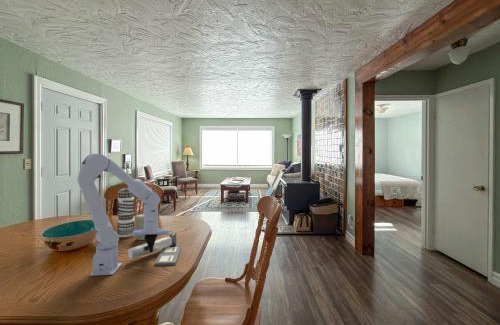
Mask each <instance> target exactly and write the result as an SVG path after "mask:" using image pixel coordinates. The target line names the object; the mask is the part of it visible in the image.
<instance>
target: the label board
mask: <svg viewBox="0 0 500 325" xmlns="http://www.w3.org/2000/svg"><path fill="white" fill-rule="evenodd" d="M160 250H161V251H160V252H159V254H158V256H157V257H156V260H155V262H154V264H153V265H154V267H158V266H176V265H177V261H178V258H179V256H180V252H181V250H182V246H179V247H165V248H162V249H160Z"/></svg>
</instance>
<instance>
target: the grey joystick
mask: <svg viewBox="0 0 500 325" xmlns="http://www.w3.org/2000/svg"><path fill="white" fill-rule="evenodd" d="M169 237H171V238H172V245H170V246H168V247H180V242H179V243H177V233H169Z"/></svg>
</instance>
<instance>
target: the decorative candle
mask: <svg viewBox="0 0 500 325" xmlns="http://www.w3.org/2000/svg"><path fill="white" fill-rule="evenodd" d="M117 195H118V197H117V201H116V207H117V209H116V210H117V211H116V214H117V216H118V217H117V224H116V225H117V226H116V227H117V229H116V230H117V231H116V232H117V233H118V235H119V238H128V237H131V236H132V232H133V231H134V230H136V221H135V217H134V214H135V210H134V209H136V207H135V206H136V204H135V202H136V199H135V197H134V196H135V195H134V194H133V193H132V192H130V191H129V190H128V187H124V188H120V189H119V190H118V191H117ZM132 237H133V236H132Z"/></svg>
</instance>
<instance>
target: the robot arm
mask: <svg viewBox="0 0 500 325" xmlns="http://www.w3.org/2000/svg"><path fill="white" fill-rule="evenodd" d="M102 172H106V173H111V175H113V176H115V177H116V178H118V179H119V180H120V181H121V182H123V183H124V184H125V185H126V186H127V188H128V190H129V191H130V192H132V193H133V196H135V197H137V198H138V199H139V200H140V201H141V202H142V203H143V215H144V229H143V230H136V229H134V231H133V232H132V237H136V236H139V235H145V238H144V239H145V240H144V241H145V242H146V243H147V244H148V246H149V250H150V253H149V254H152V253H153V247H154V243H155V240H157V238H158V236H159V235H160V236H162V235H166V236H170V229H169V228H159V205H160V203H161V198H160V195H159V194H158V193H157V192H155V191H153V188H152V187H149V186H148V185H146V184H145V181H144V180H143V179H139V178H136V179H135V178H133V177H132V176H130V174H128V172H127V171H125V170H124V169H123V168H122V167H121V166H120V165H118V163H116V162H114V161H113V160H112V159H110V158H108V157H107V156H106V155H104V154H103V153H102V154H101V153H91V154H88V155H87V156H85V158H84V159H83V160H82V162H81V166H80V170H79V173H78V176H77V179H76V180H77V184H78V186H79V189H80V191H81V193H82V196H83V198H84V202H85V204H86V206H87V209H88V211H89V214H90V216H91V219H92V221H93V225H94V229H95V239H96V241H98V242H97V244H96V246H95V247H96V252H95V253H94V255H93V257H92V272H91V273H90V274H89V276H90V277H92V276H94V277H95V276H112V275H114V274H115V273H116V272H117V270H118V269H119V268H120V267H121V266H122V264H123V263H122V262H119V248H118V247H119V241H120V237H119V235H118V233H117V232H118V231H115V230H114V228H113V225H112V224H111V222H110V220H109V217H108V215H107V212H106V209H105V207H104V204H103V202H102V199H101V196H100V193H99V191H98V188H97V186H96V183H95V181H96V179H98V177H99V175H100V174H102Z"/></svg>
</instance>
